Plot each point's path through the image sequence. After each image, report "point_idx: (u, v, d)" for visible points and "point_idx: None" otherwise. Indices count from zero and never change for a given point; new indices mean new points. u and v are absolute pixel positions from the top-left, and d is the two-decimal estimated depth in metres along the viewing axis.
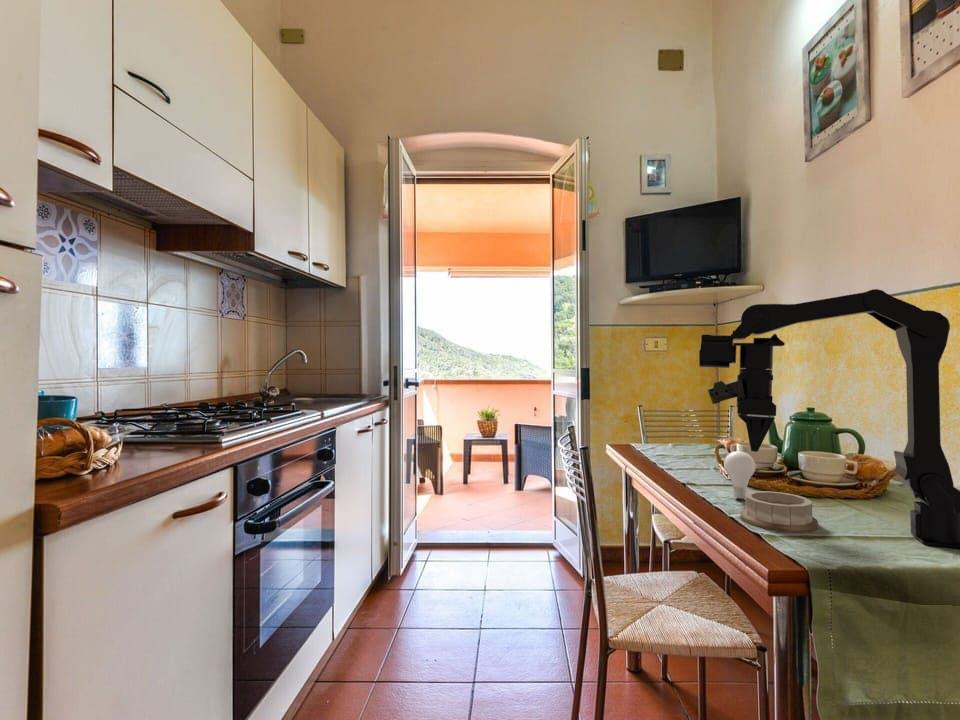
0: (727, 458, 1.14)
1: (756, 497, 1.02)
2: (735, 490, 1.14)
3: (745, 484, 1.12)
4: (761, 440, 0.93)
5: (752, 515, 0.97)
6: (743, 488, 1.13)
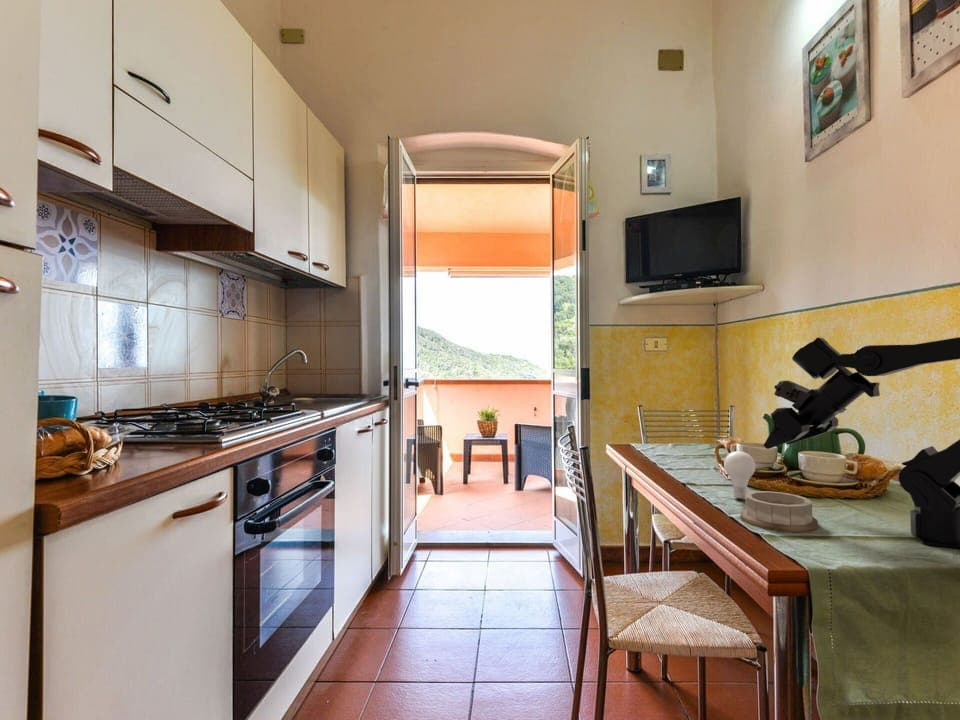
0: (727, 458, 1.14)
1: (756, 497, 1.02)
2: (735, 490, 1.14)
3: (745, 484, 1.12)
4: (775, 444, 1.02)
5: (752, 515, 0.97)
6: (743, 488, 1.13)
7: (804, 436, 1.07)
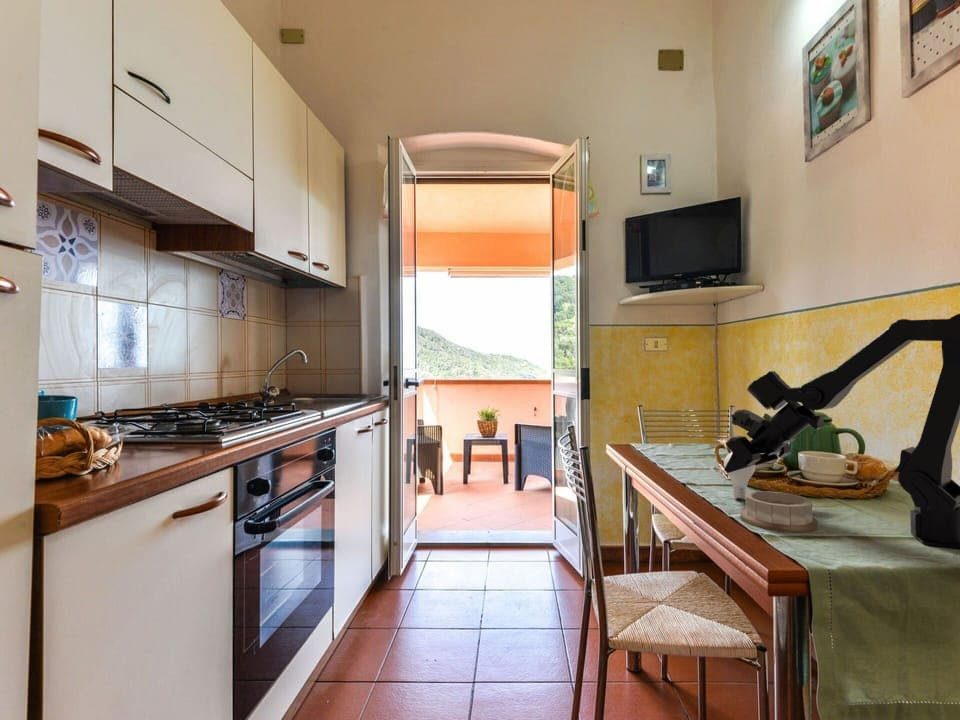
0: (727, 458, 1.14)
1: (756, 497, 1.02)
2: (735, 490, 1.14)
3: (745, 484, 1.12)
4: (734, 469, 1.11)
5: (752, 515, 0.97)
6: (743, 488, 1.13)
7: (757, 462, 1.14)
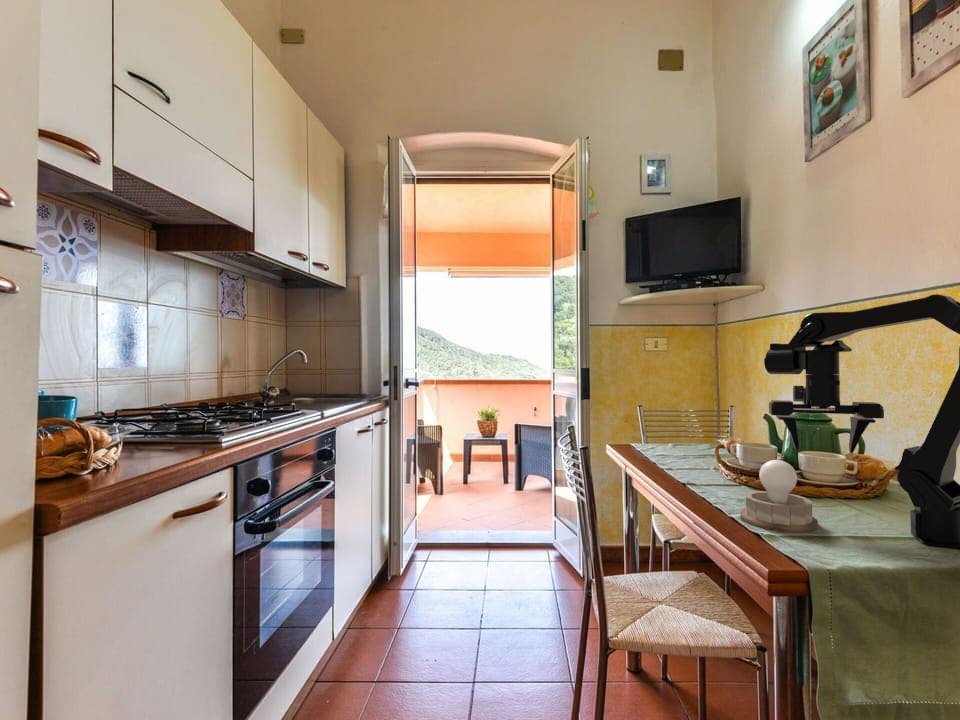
0: (767, 469, 0.97)
1: (756, 497, 1.02)
2: None
3: (787, 498, 0.96)
4: (792, 439, 1.03)
5: (752, 515, 0.97)
6: (784, 503, 0.97)
7: (853, 434, 0.98)
